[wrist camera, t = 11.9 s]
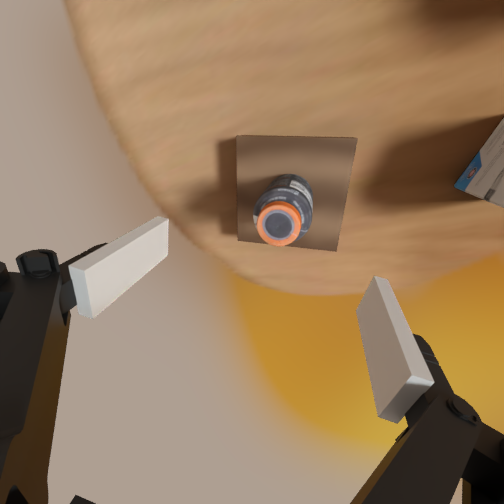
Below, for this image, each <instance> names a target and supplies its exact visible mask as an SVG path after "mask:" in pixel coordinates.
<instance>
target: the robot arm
mask: <svg viewBox="0 0 504 504" xmlns="http://www.w3.org/2000/svg"><path fill="white" fill-rule="evenodd" d="M168 224H169V219H167V218H163V217H160V216H157V217H155V218H153V219H152V220H150V221H148V222H146V223H144V224H143V225H141V226H139V227H137V228H136V229H134V230H132V231H130V232H128V233H126V234H125V235H123V236H121V237H119V238H117V239H116V240H114V241H112V242H110V243H104V244H100V245H96V246H94V247H92V248H90V249H88V250H87V251H85V252H83V253H81V254H80V255H77V256H75V257H73V258H72V259H70V260H68V261H66V262H64V263H62V264H60V265H59V263H58V259H57V255H56V253H55V252H54V251H52V250H47V249H46V250H45V249H38V250H32V251H28V252H25V253H23V254H21V255H19V256H18V257H17V258H16V261H17V265H18V267H19V270H20V273H17V272H8V270H7V268H6V265H5V263H3V262H0V504H48V484H47V475H48V467H49V459H50V454H51V446H52V440H53V433H54V427H55V419H56V413H57V406H58V399H59V393H60V386H61V379H62V372H63V365H64V359H65V352H66V345H67V338H68V332H69V325H70V318H71V314H70V309H72V308H73V307H74V306H76V305H77V308H78V313H79V314H80V315H83V316H85V317H88V318H91V319H94V318H95V317H96V316H97V315H98V314H99V313H101V312H102V311H103V310H104V309H105V308H107V307H108V306H109V305H110V304H111V303H112V302H114V301H115V300H116V299H117V298H118V297H119V296H121V295H122V294H123V293H124V292H125V291H127V289H129V288H130V287H131V286H132V285H133V284H135V283H136V282H137V281H138V280H139V279H141V278H142V277H143V276H144V275H145V274H146V273H148V272H149V271H150V270H151V269H152V268H153V267H155V266H156V265H157V264H158V263H159V262H161V261H162V260H163V259H164V258H165V257H166V256H167V255H168ZM356 313H357V318H358V323H359V327H360V332H361V337H362V342H363V347H364V352H365V356H366V361H367V366H368V370H369V375H370V380H371V385H372V390H373V395H374V400H375V405H376V409H377V414H378V417H380V418H383V419H386V420H389V421H391V422H394V423H398V422H399V421H400V420H401V419H402V418H403V417H404V416H405V417H406V420H407V424H408V427H407V428H406V429H405V430H404V431H403V432H402V433H401V434H400V435H399V436H398V437H397V439H396V442H395V444H394V445H393V446H392V448H391V449H390V450H389V452H388V453H387V454H386V456H385V457H384V458H383V460H382V461H381V462H380V464H379V465H378V466H377V468H376V469H375V471H374V472H373V473H372V475H371V476H370V477H369V479H368V480H367V482H366V483H365V484H364V485H363V487H362V488H361V489H360V491H359V492H358V494H357V495H356V496H355V498H354V499H353V500H352V502H351V503H350V504H450V502H451V499H452V497H453V495H454V492H455V490H456V488H457V485H458V483H459V481H460V478H463V485H462V504H504V435H503V434H502V433H500V432H498V431H496V430H495V429H493V428H491V427H489V426H488V425H486V424H484V423H483V422H482V421H481V419H480V417H479V415H478V414H477V412H476V411H475V410H474V409H473V407H472V406H471V405H469V404H468V403H467V402H466V401H465V400H464V399H462V398H460V397H459V396H457V395H455V394H454V392H453V390H452V388H451V386H450V384H449V383H448V380H447V379H446V377H445V375H444V373H443V371H442V369H441V367H440V366H439V363H438V361H437V359H436V357H434V353H433V351H432V349H431V347H430V346H429V345H428V343H427V342H426V341H425V340H424V339H423V338H422V337H421V336H419V335H415V334H412V332H411V330H410V327H409V325H408V323H407V321H406V319H405V317H404V314H403V312H402V310H401V308H400V306H399V304H398V301H397V299H396V297H395V295H394V292H393V290H392V288H391V286H390V284H389V282H388V279H384V278H380V277H377V276H374V277H373V279H372V281H371V283H370V285H369V287H368V289H367V290H366V292H365V294H364V296H363V298H362V300H361V302H360V304H359V306H358V308H357V310H356ZM70 504H95V503H93V502H91V501H89V500H86V499H84V498H82V497H79V496H77V495H75V497H74V498H73V500H72V501H71V503H70Z"/></svg>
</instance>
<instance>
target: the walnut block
mask: <svg viewBox="0 0 504 504" xmlns="http://www.w3.org/2000/svg"><path fill="white" fill-rule="evenodd" d="M357 139H358V138H353V137H305V136H258V135H241V136H236V152H237V227H238V241H245V242H254V243H263V244H268V243H266V242H265V241H264V240H263V239H262V238H261V237H260V235H259V233H258V231H257V228H256V226H255V224H254V219H253V210H254V206H255V204H256V202H257V200H258V198H259V197H260V196H261V195H262V193H263V192H264V191H265V190H266V188H267V187H268V186H269V185H270V183H271V182H272V181H273V180H274V179H276V178H277V177H279V176H281V175H284V174H296V175H299V176H301V177H303V178H304V179H305V180H306V181H307V182H308V183H309V185H310V187H311V189H312V192H313V208H312V222H311V225H310V228H309V229H308V231H307V232H306V234H305V235H304V236H303V237H302V238H300V239H299V240H297V241H295V242H292V243H290V244H288V245H285V246H291V247H300V248H309V249H318V250H327V251H337V246H338V240H339V235H340V230H341V224H342V219H343V214H344V208H345V203H346V198H347V192H348V187H349V182H350V176H351V171H352V166H353V160H354V155H355V150H356V144H357Z"/></svg>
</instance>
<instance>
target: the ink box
mask: <svg viewBox="0 0 504 504" xmlns="http://www.w3.org/2000/svg"><path fill="white" fill-rule="evenodd" d="M454 187H455V188H457V189H459V190H462V191H464V192H466V193H469V194H471V195H474V196H476V197H478V198H481V199H483V200H486V201H488V202H490V203H493V204H495V205H498V206H500V207H503V208H504V118H503V119H502V121H501V122H500V123H499V125H498V126H497V127H496V129H495V130H494V132H493V133H492V134H491V136H490V137H489V138H488V140H487V141H486V143H485V144H484V145H483V147H482V148H481V149H480V151H479V152H478V153H477V155H476V156H475V157H474V159H473V160H472V162H471V163H470V164H469V166H468V167H467V168H466V170H465V171H464V172H463V174H462V175H461V177H460V178H459V179H458V181H457V182H456V183H455V185H454Z"/></svg>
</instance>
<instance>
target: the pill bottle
mask: <svg viewBox="0 0 504 504" xmlns="http://www.w3.org/2000/svg"><path fill="white" fill-rule="evenodd" d="M312 208H313V192H312V189H311V187H310V185H309V183H308V182H307V181H306V180H305V179H304V178H303V177H301V176H299V175H296V174H284V175H281V176H279V177H277V178H276V179H274V180H273V181H272V182H271V183H270V185H269V186H268V187H267V188H266V190H265V191H264V192H263V193H262V195H261V196H260V197H259V198H258V200H257V202H256V204H255V206H254V210H253V219H254V224H255V226H256V228H257V231H258V233H259V235H260V237H261V238H262V239H263V240H264V241H265V242H266V243H268V244H270V245H273V246H285V245H288V244H290V243H292V242H295V241H297V240H299V239H300V238H302V237H303V236H304V235H305V234H306V232H307V231H308V229H309V228H310V225H311V222H312Z"/></svg>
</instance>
